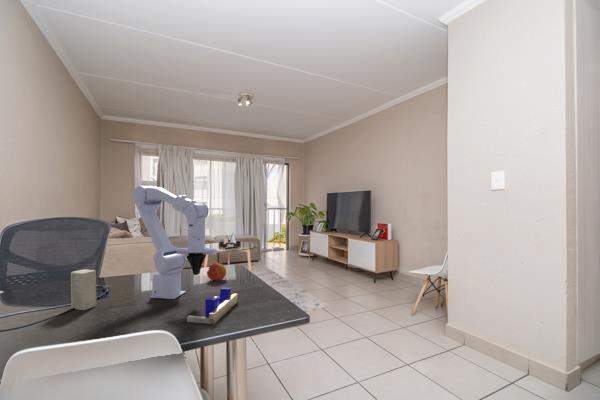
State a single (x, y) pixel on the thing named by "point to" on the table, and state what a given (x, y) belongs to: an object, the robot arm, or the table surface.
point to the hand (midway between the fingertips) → (196, 274)
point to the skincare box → (83, 289)
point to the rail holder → (216, 311)
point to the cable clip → (216, 300)
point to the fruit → (216, 272)
